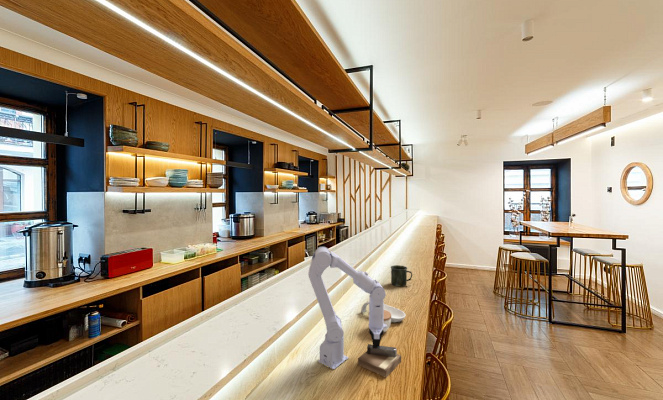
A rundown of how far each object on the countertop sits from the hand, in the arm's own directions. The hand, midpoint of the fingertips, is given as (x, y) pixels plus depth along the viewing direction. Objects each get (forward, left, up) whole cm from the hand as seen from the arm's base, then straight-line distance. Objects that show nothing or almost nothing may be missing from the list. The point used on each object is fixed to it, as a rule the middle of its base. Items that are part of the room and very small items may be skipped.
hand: (376, 347), depth 114 cm
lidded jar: (+21, +10, -4) cm, 23 cm away
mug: (+86, +30, -4) cm, 91 cm away
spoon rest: (+34, +16, -5) cm, 37 cm away
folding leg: (0, -3, -1) cm, 3 cm away
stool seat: (-2, -3, -4) cm, 6 cm away
